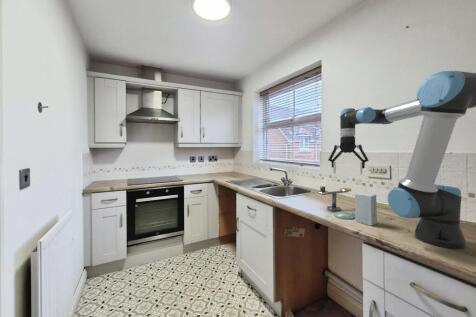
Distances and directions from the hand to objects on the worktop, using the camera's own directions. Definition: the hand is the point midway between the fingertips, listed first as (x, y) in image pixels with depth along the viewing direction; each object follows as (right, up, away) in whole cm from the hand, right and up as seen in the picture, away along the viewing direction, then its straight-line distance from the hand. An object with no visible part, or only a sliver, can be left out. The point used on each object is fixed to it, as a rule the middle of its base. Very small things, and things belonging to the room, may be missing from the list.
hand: (347, 173), depth 120 cm
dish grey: (+8, -24, 0) cm, 25 cm away
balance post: (-2, -23, +12) cm, 26 cm away
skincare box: (+3, -24, -12) cm, 27 cm away
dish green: (-3, -24, -2) cm, 24 cm away
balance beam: (-2, -13, +12) cm, 17 cm away
